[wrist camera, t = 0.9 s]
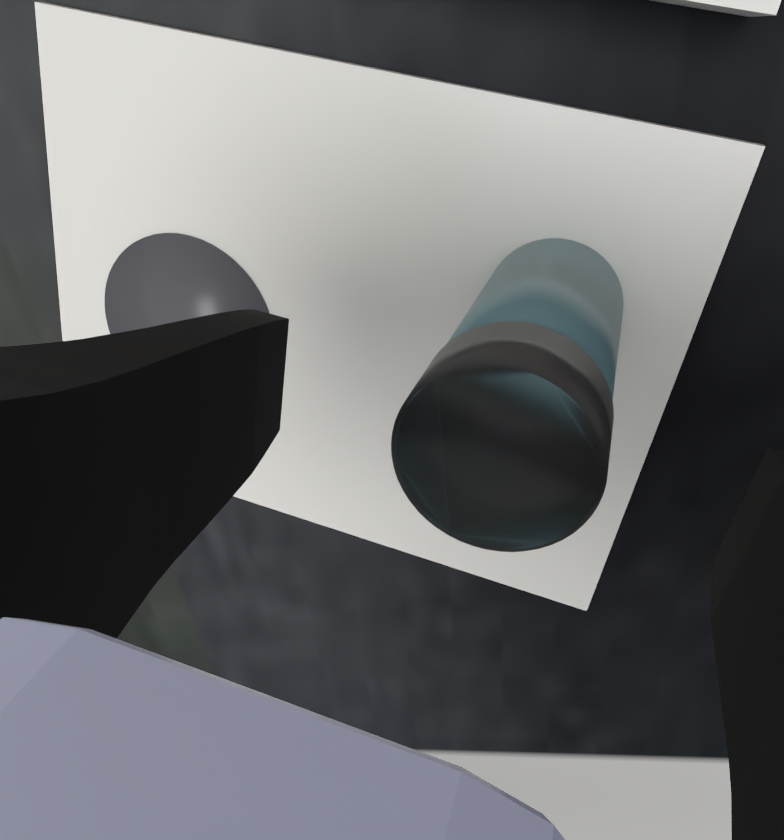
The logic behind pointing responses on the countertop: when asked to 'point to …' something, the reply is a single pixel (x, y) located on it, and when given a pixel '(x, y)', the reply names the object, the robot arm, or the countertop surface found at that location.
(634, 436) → the paper
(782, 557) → the robot arm
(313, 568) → the countertop surface
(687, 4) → the button housing
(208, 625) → the countertop surface
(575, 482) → the teal cylinder
